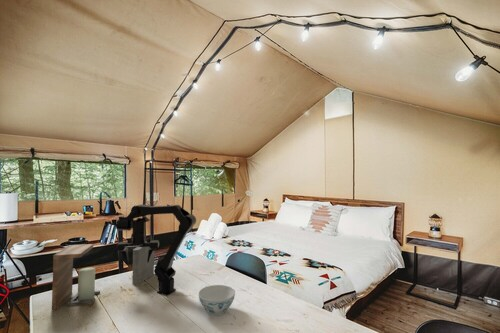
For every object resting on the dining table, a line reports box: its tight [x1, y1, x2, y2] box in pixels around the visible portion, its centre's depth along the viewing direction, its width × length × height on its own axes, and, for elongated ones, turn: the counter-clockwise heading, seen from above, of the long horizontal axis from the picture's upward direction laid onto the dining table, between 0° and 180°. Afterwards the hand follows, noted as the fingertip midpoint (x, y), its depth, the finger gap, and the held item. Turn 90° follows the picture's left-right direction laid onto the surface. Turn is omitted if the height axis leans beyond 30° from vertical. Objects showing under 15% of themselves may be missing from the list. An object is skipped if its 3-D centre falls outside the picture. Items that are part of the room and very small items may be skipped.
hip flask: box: [131, 240, 155, 286], centre depth 142 cm, size 16×4×20 cm, turn 166°
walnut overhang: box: [51, 243, 101, 311], centre depth 118 cm, size 14×16×22 cm
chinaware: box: [198, 284, 236, 317], centre depth 109 cm, size 15×15×8 cm
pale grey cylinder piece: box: [77, 266, 96, 301], centre depth 118 cm, size 6×6×13 cm
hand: (138, 263), depth 128 cm, fingers open, 9 cm apart
